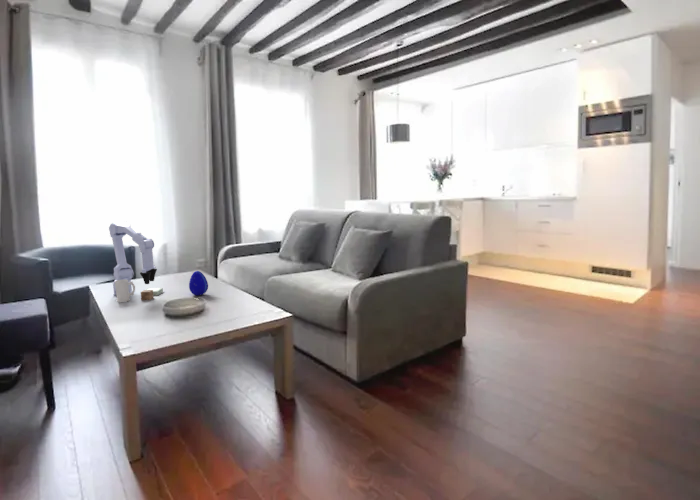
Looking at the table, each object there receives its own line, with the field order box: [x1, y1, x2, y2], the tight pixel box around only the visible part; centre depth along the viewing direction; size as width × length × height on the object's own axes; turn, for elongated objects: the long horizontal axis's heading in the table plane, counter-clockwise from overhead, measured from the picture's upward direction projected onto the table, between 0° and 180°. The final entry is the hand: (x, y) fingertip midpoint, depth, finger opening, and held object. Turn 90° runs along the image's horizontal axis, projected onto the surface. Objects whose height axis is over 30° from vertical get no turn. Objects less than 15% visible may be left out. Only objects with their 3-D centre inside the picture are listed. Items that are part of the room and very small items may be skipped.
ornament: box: [188, 270, 209, 296], centre depth 258 cm, size 11×9×15 cm
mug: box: [114, 280, 136, 303], centre depth 248 cm, size 10×7×12 cm, turn 119°
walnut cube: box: [140, 289, 154, 301], centre depth 251 cm, size 5×5×5 cm
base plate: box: [145, 287, 164, 297], centre depth 263 cm, size 9×9×3 cm
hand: (149, 282), depth 252 cm, fingers open, 7 cm apart
